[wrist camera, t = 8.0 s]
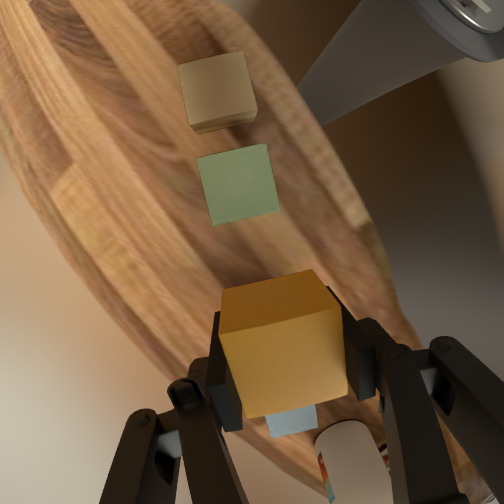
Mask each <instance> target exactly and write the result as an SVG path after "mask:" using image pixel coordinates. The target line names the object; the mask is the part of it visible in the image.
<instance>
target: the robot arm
mask: <svg viewBox="0 0 504 504" xmlns="http://www.w3.org/2000/svg"><path fill="white" fill-rule="evenodd" d="M438 1H439V2H440V3H441V4H442V5H443V6H444V7H445V8H446V9H447V10H448V11H449V12H450V13H451V14H452V15H453V16H454V17H456V18H457V19H458V20H459V21H461V22H462V23H463V24H465V25H466V26H468V27H469V28H471V29H473V30H474V31H477V32H479V33H482V34H492V33H495V32H497V31H500V30H501V29H502V28H503V27H504V0H438ZM326 288H327V289H328V290H329V291H330V293H331V294H332V295H333V296H334V298H335V299H336V300H337V302H338V303H339V304H340V305H341V312H342V321H343V339H344V350H345V362H346V375H347V379H348V381H349V383H350V385H351V387H352V389H353V391H354V393H355V395H356V397H357V399H358V400H359V401H362V400H365V399H368V398H371V397H374V396H375V394H376V388H377V389H378V391H379V393H380V398H379V413H382V419H383V425H384V431H385V438H386V444H387V451H388V459H389V467H390V475H391V484H392V494H393V504H470V503H469V500H468V497H467V496H466V495H465V494H462V493H460V492H459V491H458V488H457V484H456V480H455V476H454V472H453V468H452V464H451V461H450V457H449V454H448V450H447V447H446V444H445V440H444V437H443V434H442V431H441V428H440V425H439V422H438V419H437V416H436V413H435V411H436V412H437V414H438V415H439V416H440V418H441V419H442V420H443V422H444V423H445V424H446V426H447V427H448V429H449V430H450V431H451V433H452V434H453V436H454V437H455V438H456V440H457V441H458V443H459V444H460V445H461V447H462V448H463V450H464V451H465V453H466V454H467V455H468V457H469V458H470V460H471V461H472V463H473V464H474V466H475V467H476V469H477V470H478V472H479V473H480V475H481V476H482V478H483V479H484V481H485V482H486V484H487V485H488V487H489V488H490V490H491V491H492V493H493V494H494V496H495V497H496V499H497V501H498V502H499V504H504V382H503V381H502V380H501V379H500V378H498V377H497V376H496V375H495V374H494V373H493V372H492V371H491V370H490V369H489V368H488V367H487V366H485V364H483V363H482V362H481V361H480V360H479V359H478V358H477V357H476V356H474V355H473V354H472V353H471V352H470V351H469V350H468V349H467V348H465V347H464V346H463V345H462V344H461V343H460V342H459V341H457V340H456V339H455V338H453V337H449V336H440V337H437V338H435V339H433V340H432V341H431V342H430V346H429V349H424V350H417V351H412V350H411V349H410V348H409V347H408V346H406V345H404V344H397V343H396V342H395V341H394V340H393V339H392V338H391V337H390V335H389V334H388V333H387V332H386V331H385V330H384V329H383V328H382V327H381V325H380V324H379V323H378V322H377V321H376V320H374V319H371V318H369V317H367V318H364V319H361V320H357V321H356V320H355V318H354V317H353V316H352V315H351V313H350V312H349V311H348V310H347V308H346V307H345V306H344V305H343V303H342V302H341V301H340V300H339V298H338V297H337V296H336V295H335V294H334V292H333V291H332V290H331V289H330V287H329V286H326ZM220 314H221V311H218V312H215V316H214V323H213V330H212V337H211V345H210V352H209V356H208V357H203V358H197V359H195V360H194V361H193V362H192V363H191V364H190V367H189V371H188V376H187V377H185V378H181V379H178V380H176V381H174V382H173V383H171V384H170V386H169V387H168V389H167V393H168V395H169V397H170V399H171V401H172V403H173V405H174V409H173V410H170V411H168V412H165V413H162V414H158V415H157V414H156V412H155V411H154V410H152V409H140V410H138V411H135V412H134V413H133V414H131V415H130V416H129V418H128V420H127V422H126V425H125V428H124V431H123V433H122V436H121V439H120V442H119V445H118V447H117V450H116V453H115V456H114V459H113V462H112V465H111V468H110V471H109V474H108V477H107V480H106V483H105V486H104V489H103V493H102V496H101V499H100V502H99V504H175V498H176V490H177V482H178V475H179V467H180V459H181V456H183V461H184V466H185V471H186V476H187V481H188V485H189V490H190V494H191V499H192V503H193V504H249V502H248V499H247V497H246V494H245V492H244V490H243V487H242V485H241V482H240V480H239V477H238V474H237V472H236V469H235V467H234V464H233V461H232V459H231V456H230V453H229V451H228V448H227V445H226V442H225V439H224V437H223V435H222V433H221V432H222V431H221V430H222V427H223V429H224V431H225V432H231V431H238V430H243V425H242V403H241V400H240V397H239V394H238V391H237V388H236V385H235V382H234V379H233V376H232V373H231V370H230V367H229V364H228V361H227V358H226V357H225V354H224V351H223V348H222V345H221V342H220V338H219V335H218V333H219V323H220ZM434 409H435V410H434Z"/></svg>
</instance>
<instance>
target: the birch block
mask: <svg viewBox="0 0 504 504" xmlns="http://www.w3.org/2000/svg"><path fill="white" fill-rule="evenodd" d="M177 70H178V75H179V80H180V85H181V90H182V95H183V99H184V104H185V109H186V114H187V118H188V123H189V126H190V127H191V128H192V129H193V130H194V131H195V132H196V133H197V134H202V133H206V132H210V131H214V130H218V129H223V128H227V127H231V126H236V125H241V124H245V123H250V122H254V120H255V117H256V114H257V111H258V107H257V103H256V99H255V95H254V91H253V87H252V83H251V79H250V75H249V71H248V67H247V63H246V59H245V55H244V52H243V51H237V52H232V53H227V54H222V55H217V56H212V57H208V58H204V59H200V60H196V61H192V62H188V63H184V64H180V65H177Z"/></svg>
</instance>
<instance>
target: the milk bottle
mask: <svg viewBox="0 0 504 504" xmlns="http://www.w3.org/2000/svg"><path fill="white" fill-rule="evenodd" d="M315 451H316V455H317V459H318V462H319V466H320V470H321V473H322V477H323V481H324V484H325V488H326V491H327V495H328V499H329V502H330V504H393V494H392V484H391V477H390V475H389V472H388V470H387V468H386V466H385V463H384V461H383V459H382V457H381V455H380V453H379V450H378V448H377V446H376V444H375V442H374V440H373V438H372V436H371V434H370V432H369V430H368V428H367V426H366V425H365V424H363V423H361V422H359V421H344V422H340V423H337V424H335V425H332V426H330V427H329V428H327V429H326V430H324V431H323V432H322V433H321V434H320V435H319V436H318V437H317V440H316V442H315Z"/></svg>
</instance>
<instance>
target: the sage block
mask: <svg viewBox="0 0 504 504" xmlns="http://www.w3.org/2000/svg"><path fill="white" fill-rule="evenodd" d="M197 163H198V168H199V172H200V176H201V180H202V185H203V189H204V193H205V197H206V201H207V206H208V210H209V214H210V218H211V222H212V226H216V225H220V224H224V223H228V222H233V221H237V220H241V219H246V218H250V217H255V216H259V215H264V214H268V213H273V212H277V211H280V205H279V200H278V195H277V191H276V186H275V181H274V177H273V172H272V168H271V163H270V159H269V154H268V150H267V145H266V143H262V144H257V145H252V146H247V147H243V148H238V149H234V150H229V151H225V152H221V153H217V154H212V155H208V156H204V157H200V158H197Z"/></svg>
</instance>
